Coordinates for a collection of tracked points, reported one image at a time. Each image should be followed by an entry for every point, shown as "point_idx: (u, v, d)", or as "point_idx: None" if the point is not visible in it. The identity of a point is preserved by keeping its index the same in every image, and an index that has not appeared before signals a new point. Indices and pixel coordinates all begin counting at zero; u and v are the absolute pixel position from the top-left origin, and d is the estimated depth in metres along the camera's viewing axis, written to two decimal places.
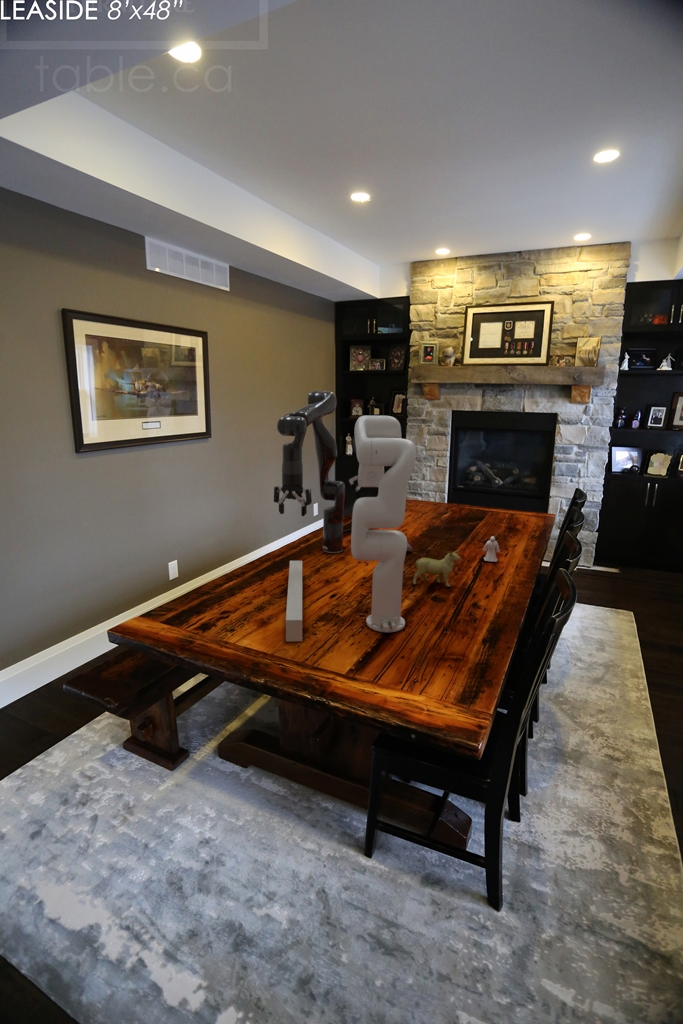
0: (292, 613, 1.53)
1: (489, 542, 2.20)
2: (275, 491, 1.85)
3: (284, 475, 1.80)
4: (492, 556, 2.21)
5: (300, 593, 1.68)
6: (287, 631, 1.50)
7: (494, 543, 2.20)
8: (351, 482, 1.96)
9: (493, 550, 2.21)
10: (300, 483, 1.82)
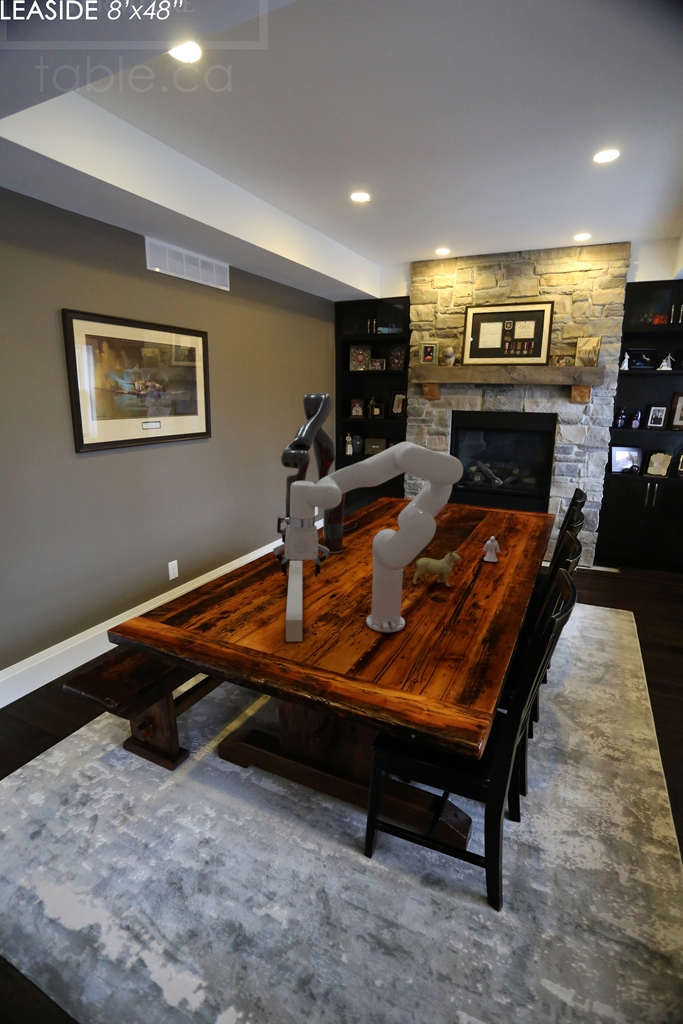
0: (292, 613, 1.53)
1: (489, 542, 2.20)
2: (279, 522, 1.89)
3: None
4: (492, 556, 2.21)
5: (300, 593, 1.68)
6: (287, 631, 1.50)
7: (494, 543, 2.20)
8: (276, 552, 1.52)
9: (493, 550, 2.21)
10: None
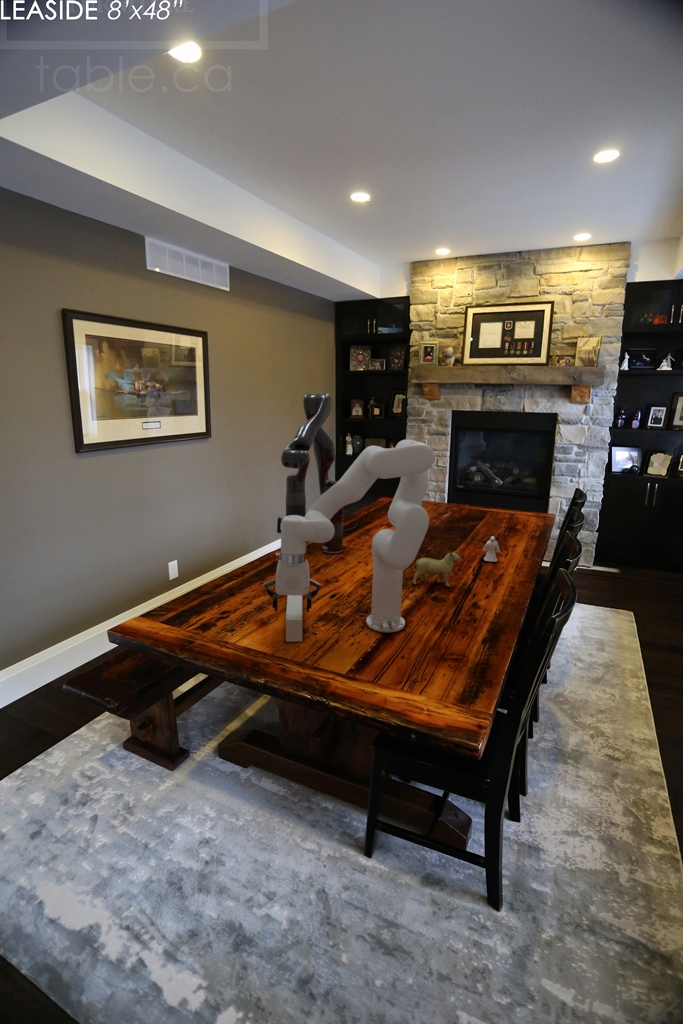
0: (292, 613, 1.53)
1: (489, 542, 2.20)
2: (279, 522, 1.89)
3: (291, 506, 1.86)
4: (492, 556, 2.21)
5: None
6: (287, 631, 1.50)
7: (494, 543, 2.20)
8: (266, 588, 1.50)
9: (493, 550, 2.21)
10: (305, 512, 1.89)
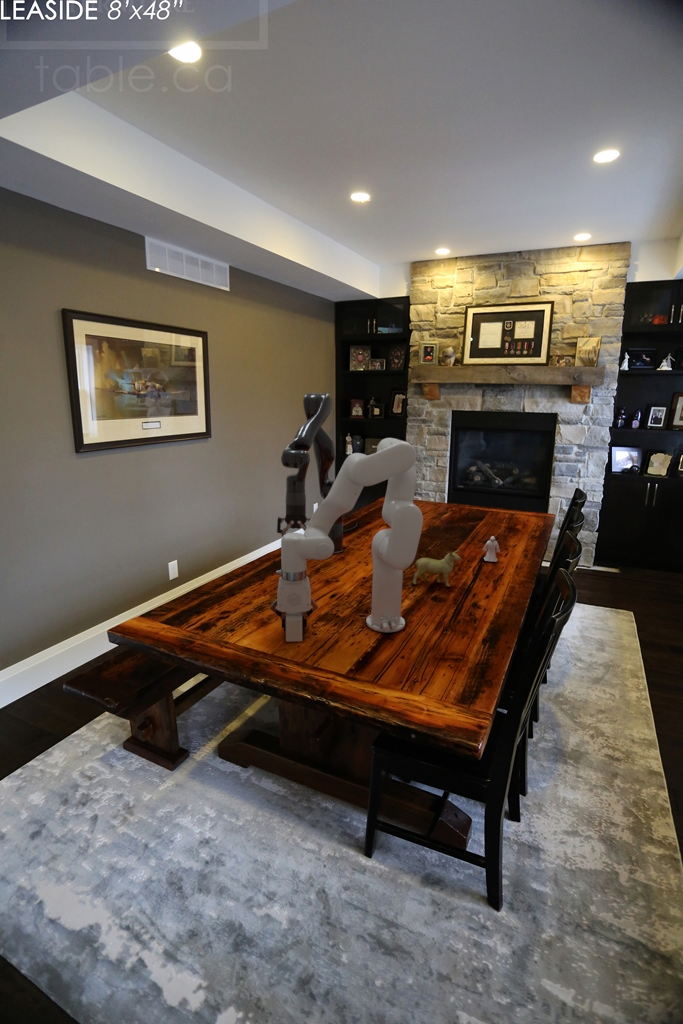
0: (292, 613, 1.53)
1: (489, 542, 2.20)
2: (279, 522, 1.89)
3: (291, 506, 1.86)
4: (492, 556, 2.21)
5: None
6: (287, 631, 1.50)
7: (494, 543, 2.20)
8: (273, 609, 1.52)
9: (493, 550, 2.21)
10: (305, 512, 1.89)
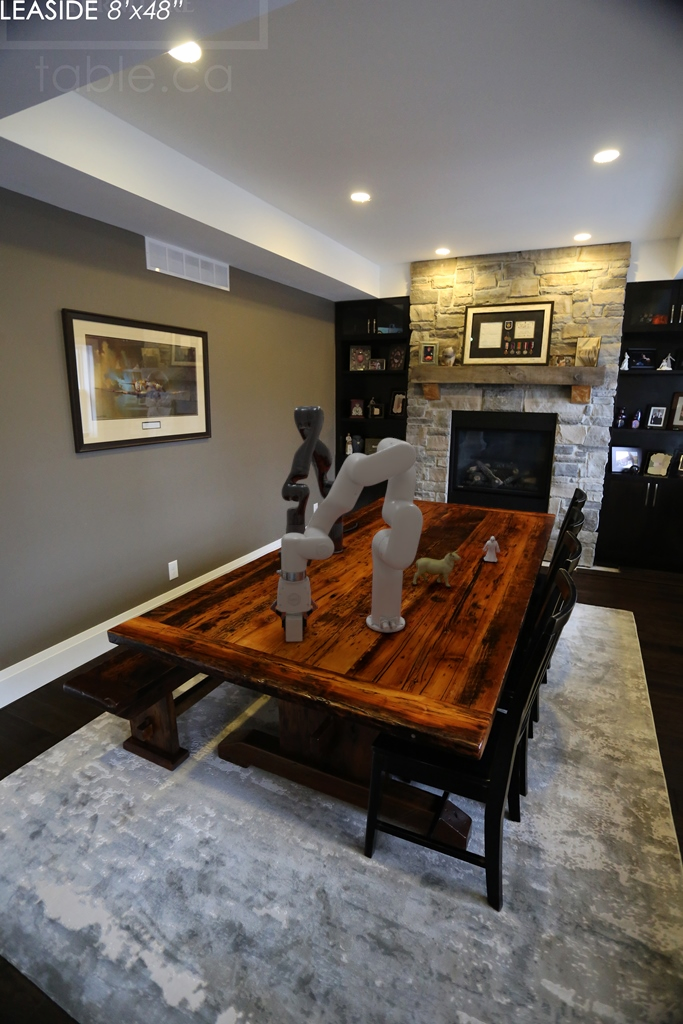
0: (292, 613, 1.53)
1: (489, 542, 2.20)
2: (280, 556, 1.92)
3: None
4: (492, 556, 2.21)
5: None
6: (287, 631, 1.50)
7: (494, 543, 2.20)
8: (273, 609, 1.52)
9: (493, 550, 2.21)
10: None
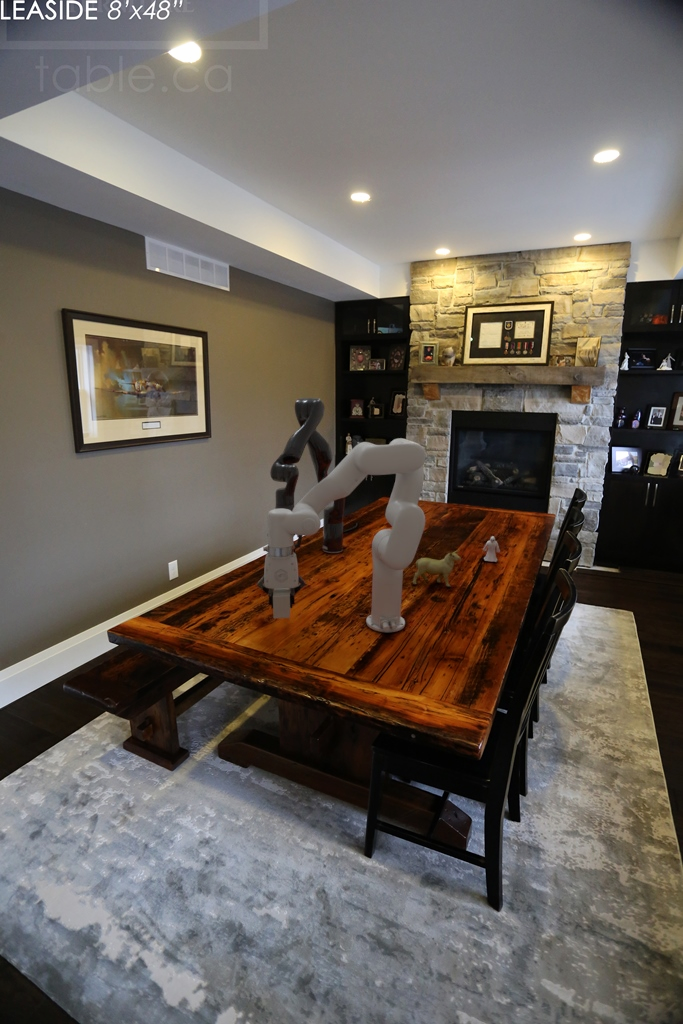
0: (280, 590, 1.52)
1: (489, 542, 2.20)
2: None
3: None
4: (492, 556, 2.21)
5: None
6: (274, 608, 1.48)
7: (494, 543, 2.20)
8: (261, 586, 1.51)
9: (493, 550, 2.21)
10: None
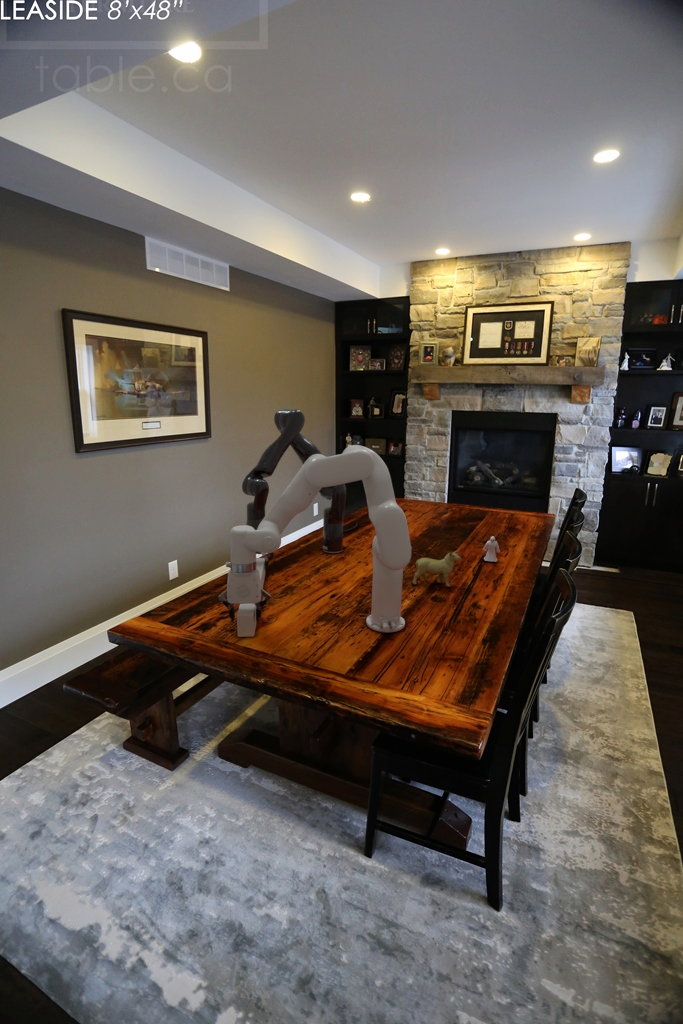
0: (245, 609, 1.55)
1: (489, 542, 2.20)
2: None
3: None
4: (492, 556, 2.21)
5: None
6: (238, 626, 1.52)
7: (494, 543, 2.20)
8: (221, 599, 1.53)
9: (493, 550, 2.21)
10: None
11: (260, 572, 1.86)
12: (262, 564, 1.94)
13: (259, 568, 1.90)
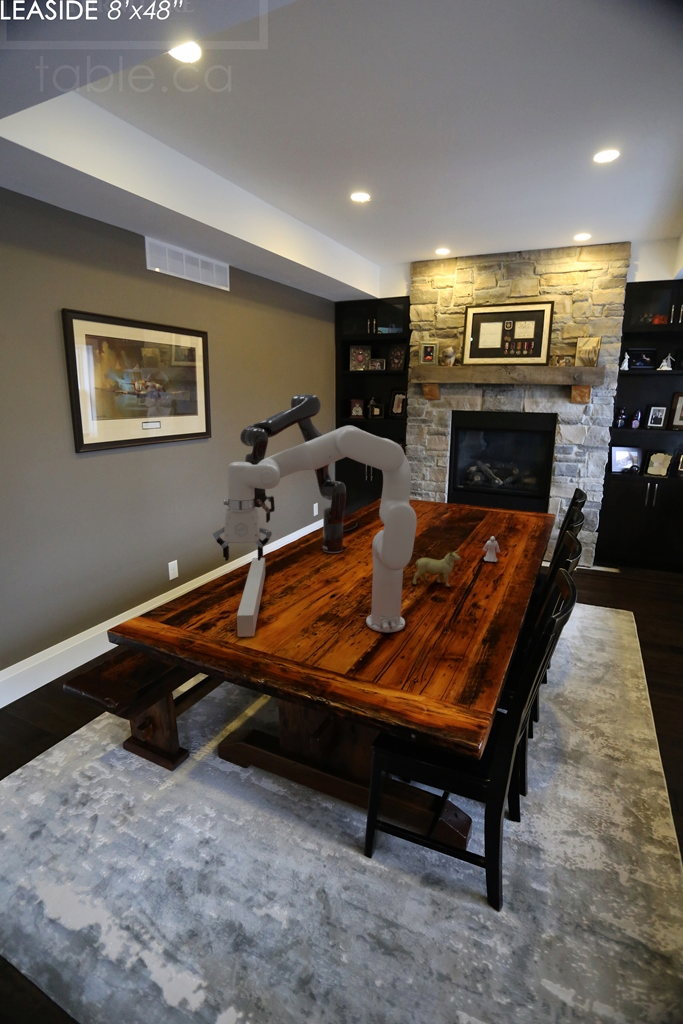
0: (245, 609, 1.55)
1: (489, 542, 2.20)
2: None
3: None
4: (492, 556, 2.21)
5: (256, 589, 1.70)
6: (238, 626, 1.52)
7: (494, 543, 2.20)
8: (216, 536, 1.48)
9: (493, 550, 2.21)
10: (264, 491, 1.89)
11: (260, 572, 1.86)
12: (262, 564, 1.94)
13: (259, 568, 1.90)
